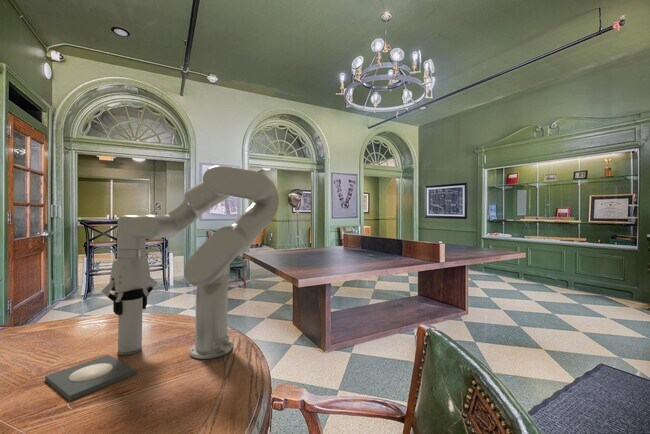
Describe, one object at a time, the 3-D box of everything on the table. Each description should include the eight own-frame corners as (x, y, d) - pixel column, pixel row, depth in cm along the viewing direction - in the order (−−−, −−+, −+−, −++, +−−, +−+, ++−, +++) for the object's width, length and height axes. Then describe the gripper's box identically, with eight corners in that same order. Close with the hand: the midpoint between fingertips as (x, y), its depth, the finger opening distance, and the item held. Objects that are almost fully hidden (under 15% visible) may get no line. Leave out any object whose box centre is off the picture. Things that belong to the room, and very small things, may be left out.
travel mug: (146, 346, 95) (147, 285, 96) (133, 355, 89) (135, 289, 89) (126, 346, 95) (128, 285, 96) (112, 356, 89) (114, 289, 89)
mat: (135, 373, 78) (135, 368, 78) (69, 401, 67) (69, 394, 67) (108, 358, 87) (108, 354, 87) (45, 380, 75) (45, 375, 75)
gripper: (153, 251, 102) (152, 303, 101) (93, 256, 87) (92, 316, 87) (165, 252, 98) (164, 306, 98) (105, 258, 83) (104, 321, 83)
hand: (130, 310), depth 92 cm, fingers closed on travel mug, 6 cm apart
